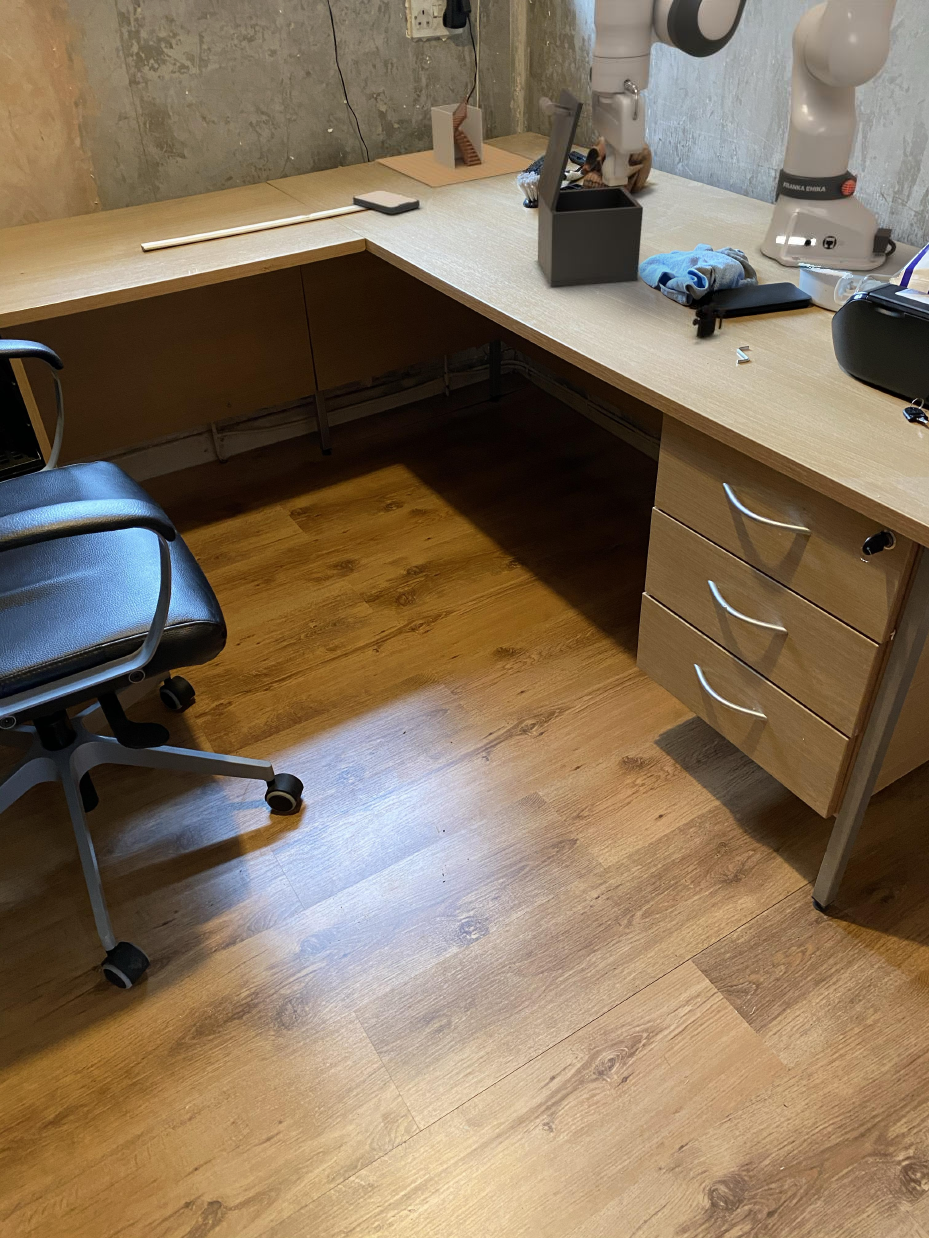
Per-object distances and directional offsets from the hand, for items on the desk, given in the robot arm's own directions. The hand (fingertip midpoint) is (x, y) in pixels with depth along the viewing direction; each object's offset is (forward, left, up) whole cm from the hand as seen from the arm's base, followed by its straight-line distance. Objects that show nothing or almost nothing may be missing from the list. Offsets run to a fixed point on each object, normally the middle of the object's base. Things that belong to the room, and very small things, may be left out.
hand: (615, 172), depth 150 cm
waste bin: (+7, -6, -19) cm, 21 cm away
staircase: (+71, -71, -19) cm, 102 cm away
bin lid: (+11, -3, +2) cm, 12 cm away
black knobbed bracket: (-22, +15, -19) cm, 33 cm away
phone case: (+67, -30, -19) cm, 76 cm away
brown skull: (+22, -56, -19) cm, 63 cm away
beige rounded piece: (0, 0, -2) cm, 2 cm away
